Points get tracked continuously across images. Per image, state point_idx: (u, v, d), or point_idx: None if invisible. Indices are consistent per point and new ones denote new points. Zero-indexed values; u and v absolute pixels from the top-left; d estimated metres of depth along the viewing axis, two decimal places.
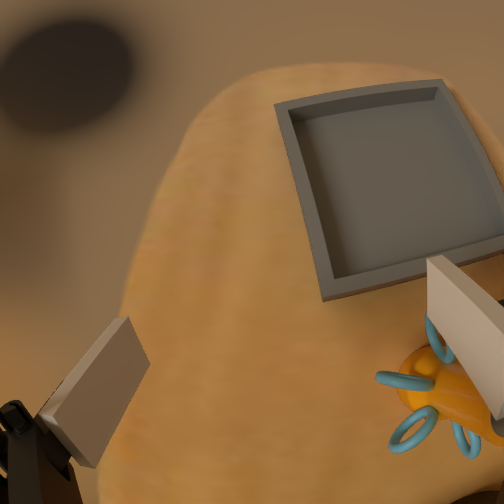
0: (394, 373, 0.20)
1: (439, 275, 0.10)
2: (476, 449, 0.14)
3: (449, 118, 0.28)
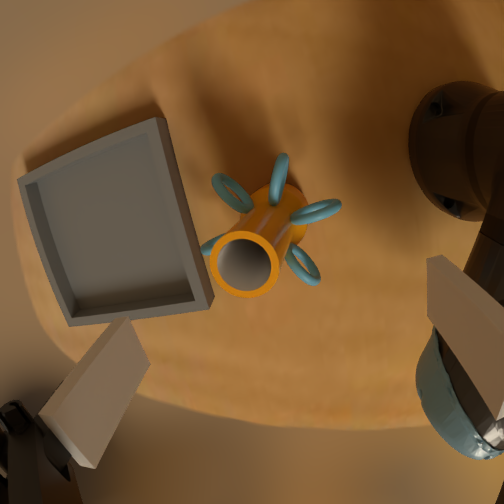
0: None
1: (439, 275, 0.10)
2: (324, 215, 0.23)
3: (51, 174, 0.32)
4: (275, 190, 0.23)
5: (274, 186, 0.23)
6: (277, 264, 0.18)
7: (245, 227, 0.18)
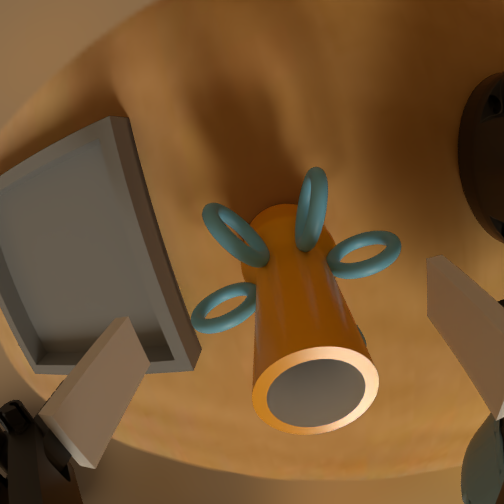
0: None
1: (439, 275, 0.10)
2: (388, 263, 0.14)
3: None
4: (317, 232, 0.14)
5: (315, 226, 0.14)
6: (376, 385, 0.09)
7: (317, 332, 0.09)
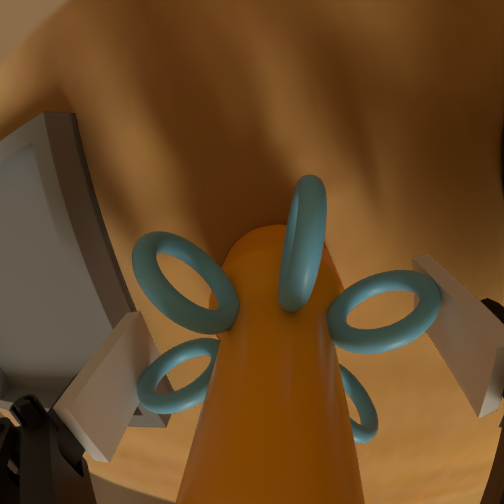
0: None
1: (424, 274, 0.11)
2: (421, 332, 0.08)
3: None
4: (305, 289, 0.08)
5: (303, 279, 0.08)
6: None
7: None
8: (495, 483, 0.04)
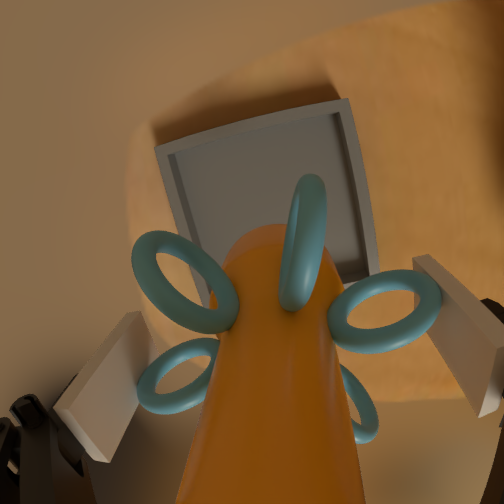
0: None
1: None
2: (422, 332, 0.08)
3: (202, 144, 0.32)
4: (306, 288, 0.08)
5: (304, 278, 0.08)
6: None
7: None
8: (495, 483, 0.04)
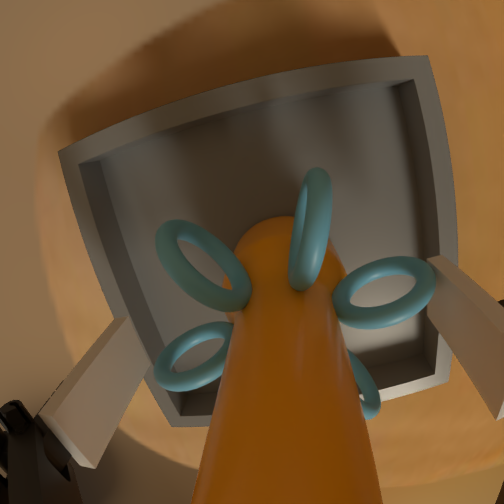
0: None
1: (439, 275, 0.10)
2: (418, 309, 0.09)
3: (143, 141, 0.16)
4: (315, 267, 0.09)
5: (312, 258, 0.09)
6: None
7: (287, 469, 0.04)
8: None
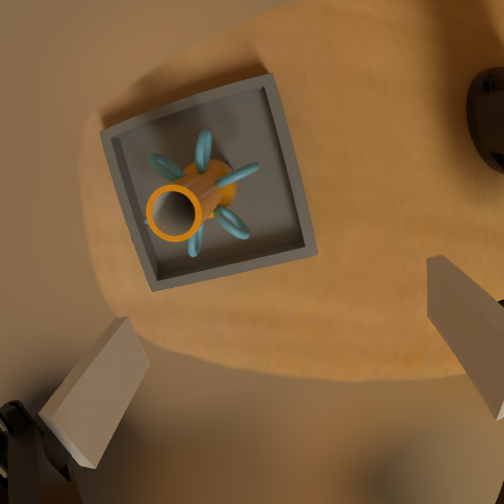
0: None
1: (439, 275, 0.10)
2: (243, 174, 0.27)
3: (142, 127, 0.33)
4: (199, 158, 0.26)
5: (198, 155, 0.26)
6: (200, 208, 0.21)
7: (172, 183, 0.21)
8: None
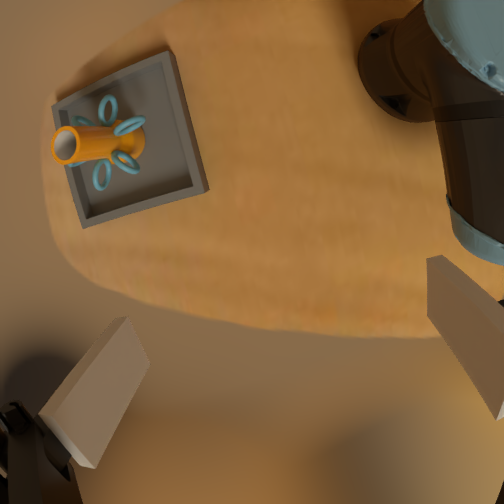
0: (105, 176, 0.38)
1: (439, 275, 0.10)
2: (127, 122, 0.32)
3: (81, 101, 0.39)
4: (100, 114, 0.32)
5: (99, 112, 0.32)
6: (79, 139, 0.27)
7: None
8: None
